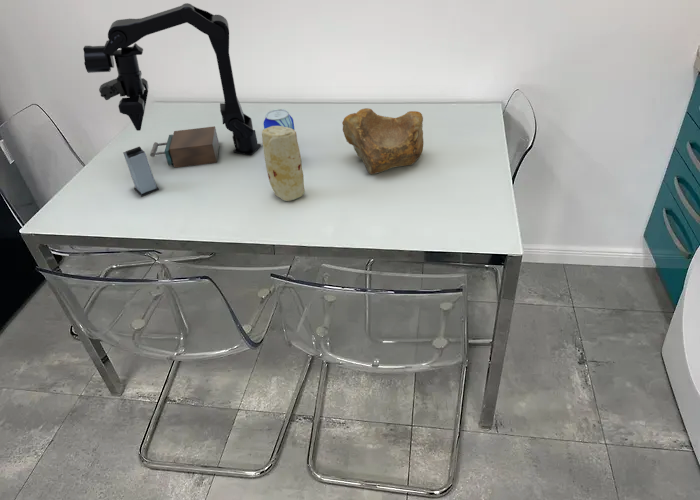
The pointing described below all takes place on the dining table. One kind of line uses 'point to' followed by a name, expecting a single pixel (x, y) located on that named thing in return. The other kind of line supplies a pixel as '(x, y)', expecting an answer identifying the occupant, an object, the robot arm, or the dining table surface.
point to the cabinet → (194, 147)
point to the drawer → (166, 152)
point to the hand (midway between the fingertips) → (140, 123)
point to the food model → (283, 162)
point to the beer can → (278, 119)
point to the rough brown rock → (384, 138)
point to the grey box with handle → (140, 171)
